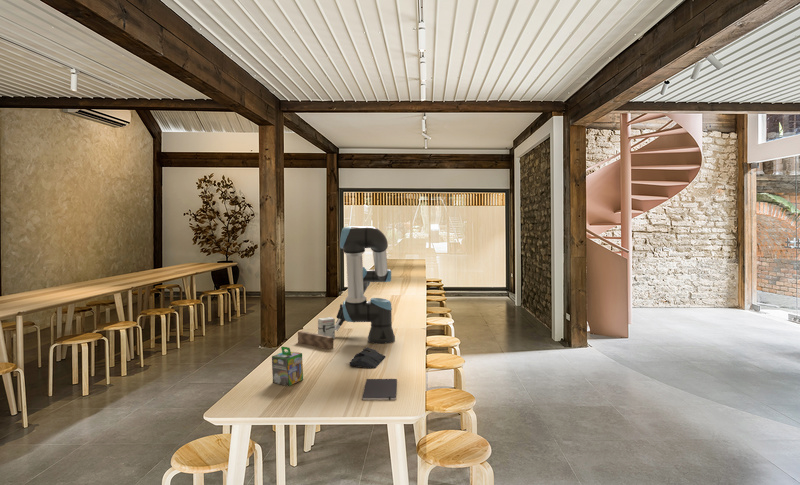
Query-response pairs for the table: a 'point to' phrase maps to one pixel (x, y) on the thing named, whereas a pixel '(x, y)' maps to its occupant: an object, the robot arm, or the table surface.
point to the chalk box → (287, 367)
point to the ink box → (326, 326)
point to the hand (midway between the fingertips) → (335, 329)
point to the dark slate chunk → (367, 358)
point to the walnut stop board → (315, 340)
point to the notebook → (380, 389)
